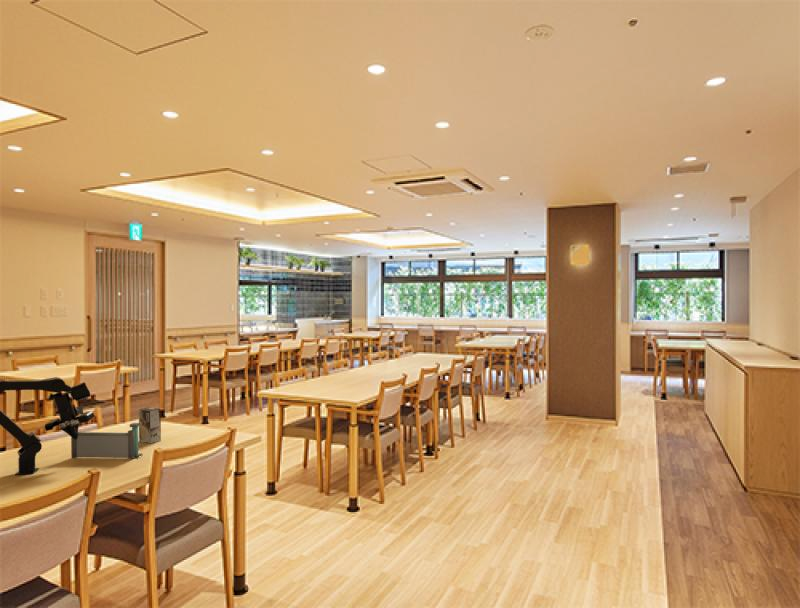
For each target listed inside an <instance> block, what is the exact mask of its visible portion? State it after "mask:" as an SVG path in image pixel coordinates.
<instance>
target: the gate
mask: <svg viewBox="0 0 800 608" xmlns="http://www.w3.org/2000/svg"><path fill="white" fill-rule="evenodd" d="M70 438H71V439H70V440H71V441H70V443H71V445H70V447H71V448H70V450H71V452H70V454H71V455H70V456H71V459H74V458H99V459H100V458H101V459H107V458H108V459H109V458H111V459H115V458H116V459H134V458H135V430H132V429H130V430H128V431H127V432H103V431H102V432H100V431H99V432H96V431H95V432H93V431H91V432H87V431H86V432H85V431H83V432H82V431H80V432H79V431H78V438H77V439H73V438H72V437H71V436H70Z"/></svg>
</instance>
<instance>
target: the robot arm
mask: <svg viewBox="0 0 800 608" xmlns="http://www.w3.org/2000/svg"><path fill="white" fill-rule="evenodd" d="M5 391H43V392H49V396H48V397H46V399H47V400H48V401H51V400H53V402H54V405H55V408H56V411H55V414H56V415H58V416H59V418H55V419H51V420H49V421H48V422H47V423H45V424H44V430H45V432H47V431H52V430H53V429H54V427H57V426H59V430H62V431H63V432H64V433H66V434H67V435H68V436H69V437H70V438H71V437H72V438H73V439H77V438H78V432H79V427H80V424H83V423H87V422H89V421H91V420H93V418H94V417H95V413H94V412H93V411H92V410H91V411H87V412H84V409H83V406H76V404H73V403H72V401H76V402H79V401H81V400H84V399H87V398H90V397H91V392H90V389H89V388H88V387H87V384H86V382H81V383H79V384H76V385H73V386H70V384H68V385H67V384H66V382H65V380H63V379H62V378H61V377H55V376H54V377H49V378H43V379H38V380H37V379H35V380H34V379H33V380H30V379H29V380H24V379H23V380H19V379H18V380H14V379H13V380H11V379H10V380H7V379H6V380H5V379H0V395H1V394H2V393H4V392H5ZM50 392H51V393H50ZM0 426H1V427H2V428H3V429H5V430H6V432H8V433H9V434H10V435H11V436H12V437H13V438H15V439H16V440H17V442H18V443H19V444H20V446H21V447H20V448H19V450H17V455H18V463H17V464H18V471H16V472H15V473H14V475H15V476H21V474H23V475H32V474H34V473H36V472H38V470H39V467H36V456H37V454H38V453H39V452H40V451H42V447H43V445H42V443H41V441H42V440H41V438H40V437H39V436H36V434H35V433H34V432H33V431H30V432H29V433H28V432H26V431H25V430H24V429H22V428H21V427H20V426H19V424H17V423H16V422H15V421H14V420H12V419H11V418H10V417H9V416H8V415H7V414H5V413H4V411H2V410H1V409H0Z"/></svg>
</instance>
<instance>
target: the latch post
mask: <svg viewBox="0 0 800 608" xmlns="http://www.w3.org/2000/svg"><path fill="white" fill-rule="evenodd" d="M139 426H140V423H139V422H133V423H130V424H129V428H131V430H135V457H139V456H141V455H142V456H143V453H140V452H139ZM142 456H141V457H142ZM139 458H140V457H139Z"/></svg>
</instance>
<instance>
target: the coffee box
mask: <svg viewBox="0 0 800 608" xmlns="http://www.w3.org/2000/svg"><path fill="white" fill-rule="evenodd" d="M161 416H162V415H161V408H158V407H157V408H156V407H150V406H149V407H143V408H140V409H138V423H140V426H138V442H141V441H142V442H141V443H146V442H148V443H147V444H153V442H154V443H156V442H160V441H162V429H161V428H162V427H161V425H162V424H161V423H162V421H161V420H162V418H161Z"/></svg>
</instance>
